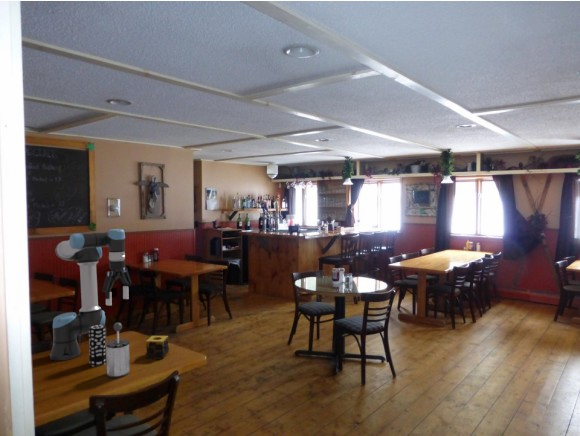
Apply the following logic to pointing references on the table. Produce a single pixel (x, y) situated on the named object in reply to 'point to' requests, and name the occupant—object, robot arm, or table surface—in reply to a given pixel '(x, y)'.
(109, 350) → the grey cylinder
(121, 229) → the robot arm
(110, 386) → the table surface
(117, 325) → the grey ball-topped rod
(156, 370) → the table surface
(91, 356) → the spotted tube
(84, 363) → the table surface
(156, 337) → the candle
